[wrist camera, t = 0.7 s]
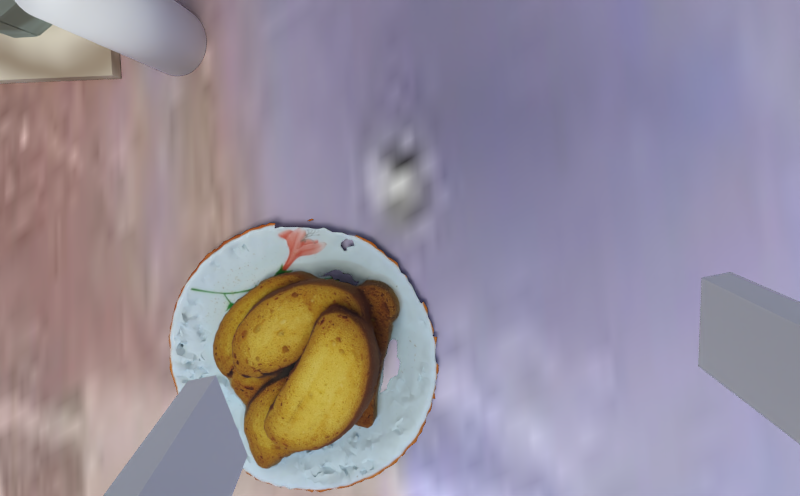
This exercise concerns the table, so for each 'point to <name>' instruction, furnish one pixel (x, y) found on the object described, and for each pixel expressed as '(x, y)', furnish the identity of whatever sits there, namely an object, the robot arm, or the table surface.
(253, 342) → the food on plate
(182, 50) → the paper roll
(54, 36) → the roll holder
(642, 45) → the table surface
